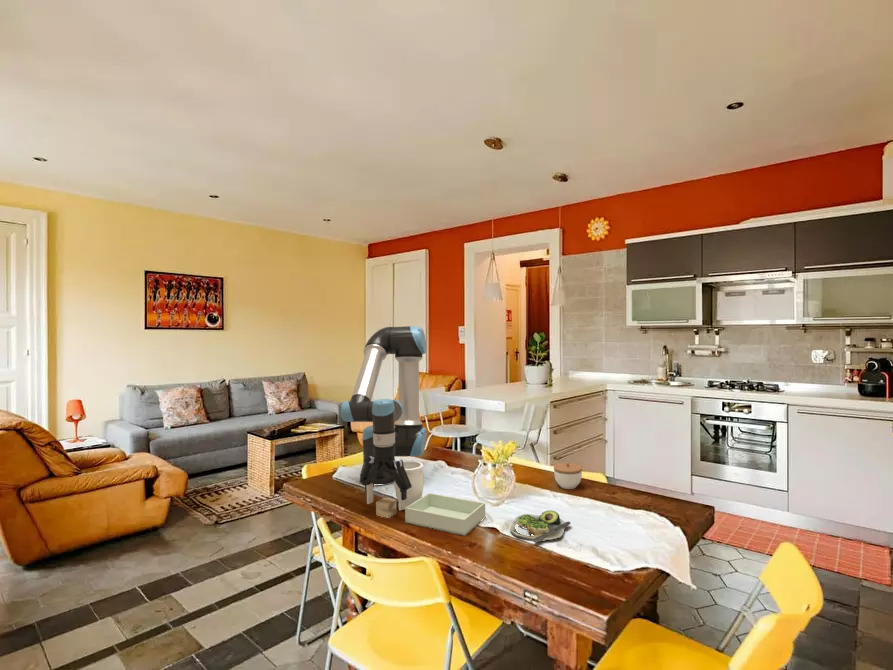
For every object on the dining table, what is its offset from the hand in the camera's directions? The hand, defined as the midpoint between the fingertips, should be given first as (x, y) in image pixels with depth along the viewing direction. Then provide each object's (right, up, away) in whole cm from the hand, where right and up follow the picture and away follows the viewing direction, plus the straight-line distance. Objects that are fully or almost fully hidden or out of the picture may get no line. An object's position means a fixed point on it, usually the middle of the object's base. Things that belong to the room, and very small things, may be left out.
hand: (385, 505), depth 170 cm
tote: (+21, -3, -5) cm, 22 cm away
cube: (0, -3, +1) cm, 3 cm away
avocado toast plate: (+51, -3, -14) cm, 52 cm away
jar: (+8, -3, +8) cm, 11 cm away
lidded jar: (+69, -1, +24) cm, 73 cm away
